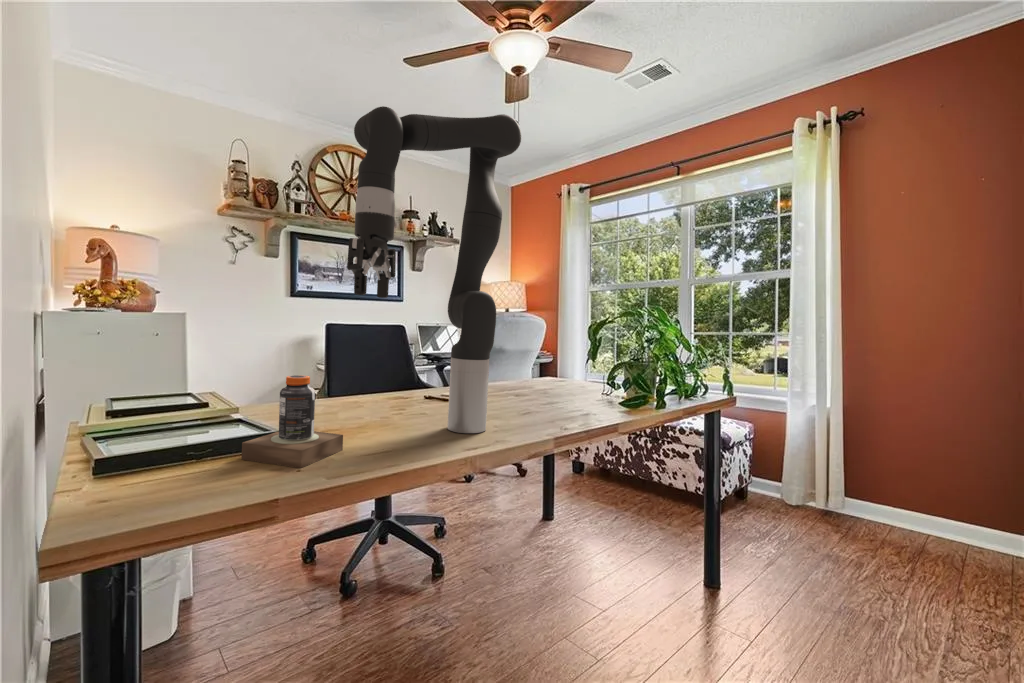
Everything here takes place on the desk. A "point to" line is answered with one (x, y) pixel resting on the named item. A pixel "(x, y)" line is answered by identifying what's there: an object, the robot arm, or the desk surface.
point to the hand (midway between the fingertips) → (371, 296)
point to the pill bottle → (296, 409)
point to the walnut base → (292, 449)
